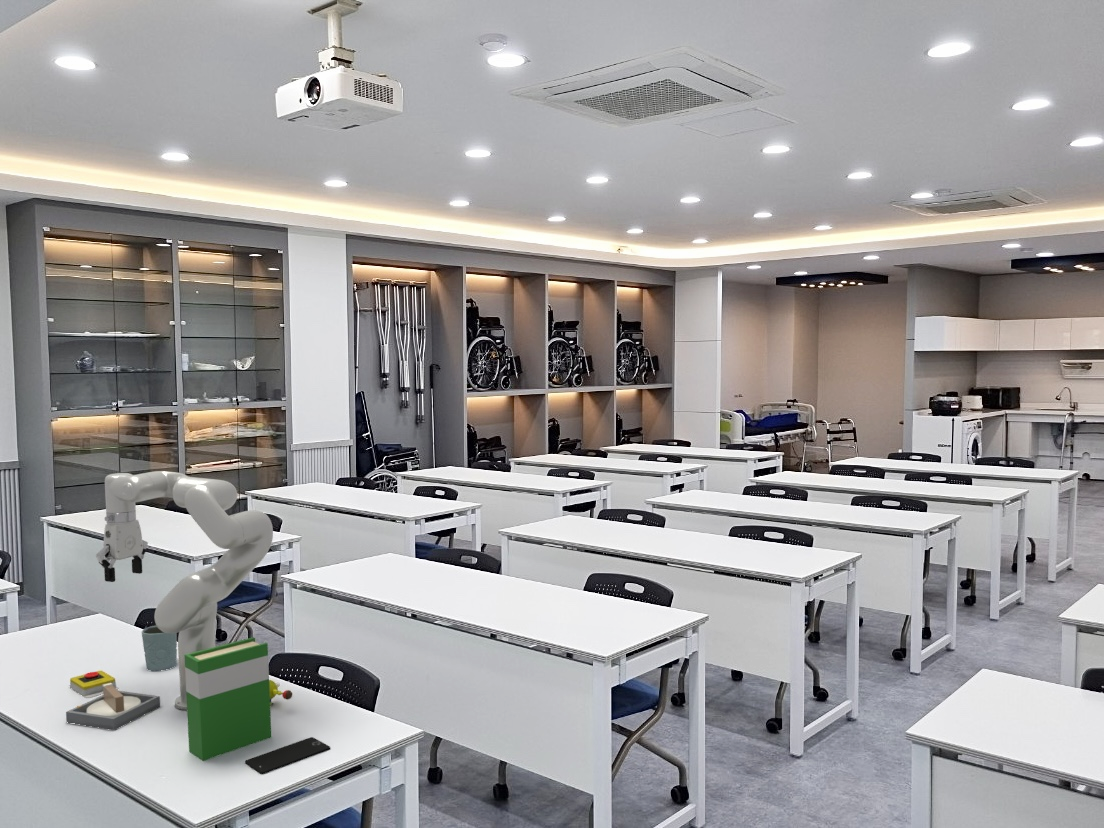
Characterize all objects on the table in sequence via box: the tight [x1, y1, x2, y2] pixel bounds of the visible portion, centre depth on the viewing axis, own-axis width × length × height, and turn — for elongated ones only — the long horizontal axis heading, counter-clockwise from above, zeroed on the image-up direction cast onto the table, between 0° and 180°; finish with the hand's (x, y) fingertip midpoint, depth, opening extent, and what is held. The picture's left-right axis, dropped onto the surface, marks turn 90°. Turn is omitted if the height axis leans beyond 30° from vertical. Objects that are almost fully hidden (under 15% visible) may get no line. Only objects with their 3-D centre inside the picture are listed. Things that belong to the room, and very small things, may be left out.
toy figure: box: [269, 679, 293, 707], centre depth 245 cm, size 18×6×7 cm, turn 59°
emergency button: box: [68, 670, 120, 699], centre depth 261 cm, size 9×4×15 cm
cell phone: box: [244, 736, 331, 775], centre depth 214 cm, size 9×18×1 cm, turn 135°
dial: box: [87, 683, 141, 717], centre depth 240 cm, size 13×13×6 cm
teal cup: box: [141, 624, 178, 672], centre depth 278 cm, size 10×10×12 cm
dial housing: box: [65, 690, 161, 731], centre depth 241 cm, size 16×16×3 cm
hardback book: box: [184, 636, 272, 762], centre depth 220 cm, size 18×7×24 cm, turn 135°
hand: (123, 577), depth 253 cm, fingers open, 9 cm apart
